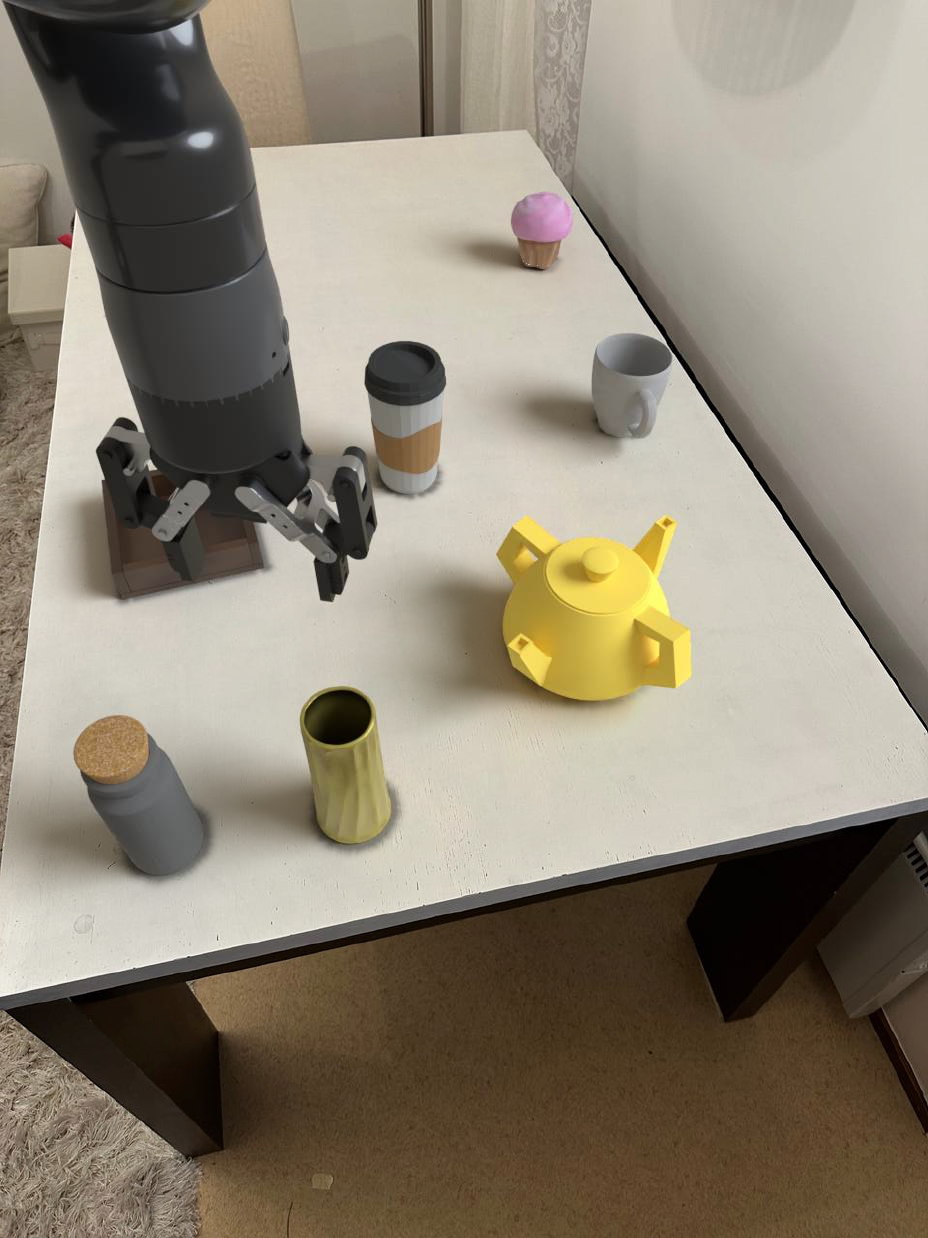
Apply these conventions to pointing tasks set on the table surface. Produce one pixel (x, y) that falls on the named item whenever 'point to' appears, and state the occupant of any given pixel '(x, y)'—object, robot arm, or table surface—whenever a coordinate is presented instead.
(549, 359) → the table surface
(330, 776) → the vase
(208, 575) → the tray
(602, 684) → the teapot
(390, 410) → the coffee cup
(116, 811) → the bottle
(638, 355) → the mug
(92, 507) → the table surface
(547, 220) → the cupcake
